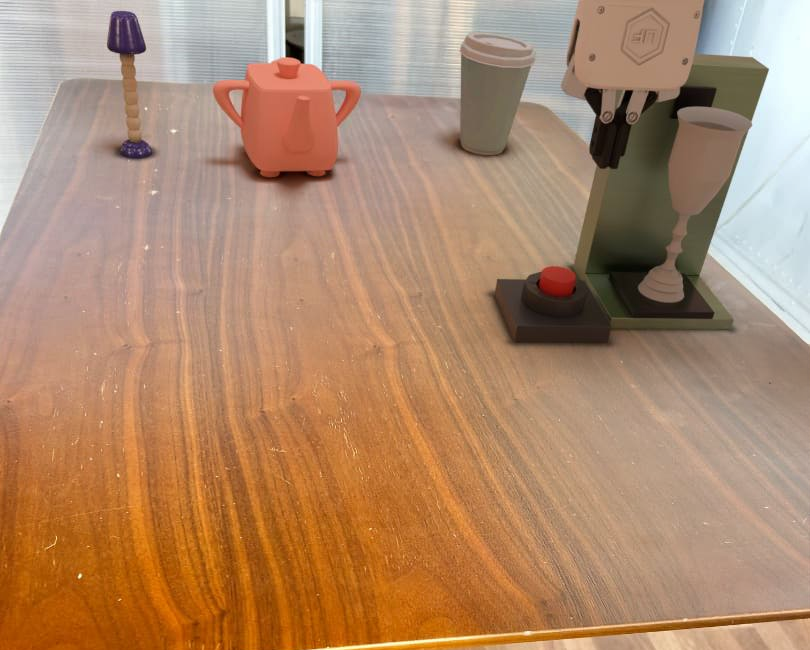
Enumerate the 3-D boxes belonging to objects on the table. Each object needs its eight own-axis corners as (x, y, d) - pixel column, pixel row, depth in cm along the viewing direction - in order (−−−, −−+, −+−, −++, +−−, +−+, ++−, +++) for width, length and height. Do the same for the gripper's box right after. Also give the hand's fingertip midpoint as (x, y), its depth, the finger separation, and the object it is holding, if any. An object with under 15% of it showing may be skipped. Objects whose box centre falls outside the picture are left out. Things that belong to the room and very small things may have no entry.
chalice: (674, 274, 100) (727, 106, 88) (706, 304, 95) (767, 130, 83) (617, 278, 98) (663, 107, 86) (647, 308, 93) (700, 131, 81)
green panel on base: (683, 271, 106) (752, 56, 90) (729, 331, 96) (816, 102, 80) (572, 269, 104) (623, 48, 88) (607, 330, 94) (672, 94, 78)
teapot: (272, 137, 127) (270, 35, 118) (368, 163, 123) (374, 59, 114) (202, 172, 116) (194, 62, 107) (306, 202, 111) (306, 90, 102)
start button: (567, 281, 93) (571, 266, 92) (576, 298, 91) (580, 282, 90) (534, 281, 93) (537, 265, 92) (543, 297, 90) (546, 282, 89)
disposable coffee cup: (465, 131, 136) (479, 21, 125) (530, 148, 133) (550, 37, 122) (436, 151, 128) (448, 36, 118) (504, 169, 125) (522, 53, 115)
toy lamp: (127, 146, 120) (109, 6, 108) (161, 150, 120) (147, 10, 108) (115, 158, 116) (96, 15, 105) (150, 162, 116) (135, 20, 105)
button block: (580, 298, 99) (588, 264, 96) (606, 345, 91) (616, 310, 89) (493, 297, 97) (499, 263, 94) (513, 344, 90) (520, 309, 87)
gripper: (578, -68, 66) (536, 177, 79) (762, -57, 69) (693, 180, 81) (553, -85, 72) (517, 147, 84) (725, -74, 74) (665, 151, 86)
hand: (604, 163), depth 83 cm, fingers closed
